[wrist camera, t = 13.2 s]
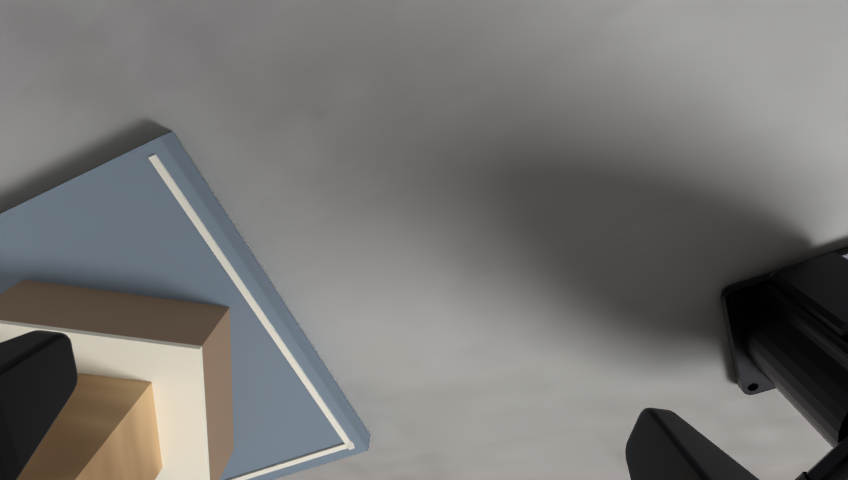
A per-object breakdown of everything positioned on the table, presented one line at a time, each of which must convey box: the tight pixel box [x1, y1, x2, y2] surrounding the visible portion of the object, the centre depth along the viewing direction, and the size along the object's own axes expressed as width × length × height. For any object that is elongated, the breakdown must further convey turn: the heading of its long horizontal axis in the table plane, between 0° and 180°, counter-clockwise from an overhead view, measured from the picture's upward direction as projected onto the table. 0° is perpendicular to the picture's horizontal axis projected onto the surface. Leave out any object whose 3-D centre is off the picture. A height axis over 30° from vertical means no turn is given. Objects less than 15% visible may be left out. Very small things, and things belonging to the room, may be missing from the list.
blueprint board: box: [0, 132, 370, 480], centre depth 22 cm, size 18×16×4 cm
